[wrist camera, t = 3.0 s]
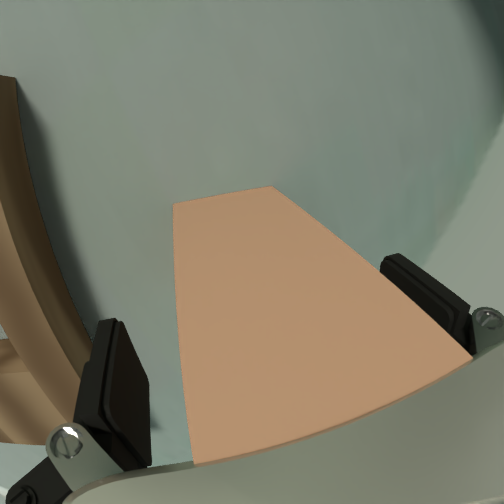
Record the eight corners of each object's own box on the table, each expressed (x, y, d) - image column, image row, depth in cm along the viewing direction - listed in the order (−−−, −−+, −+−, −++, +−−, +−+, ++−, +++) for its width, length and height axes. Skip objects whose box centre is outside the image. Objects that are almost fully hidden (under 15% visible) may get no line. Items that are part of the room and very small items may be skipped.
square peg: (271, 185, 16) (508, 394, 3) (279, 271, 18) (424, 496, 6) (172, 204, 15) (206, 529, 3) (192, 290, 17) (252, 563, 5)
